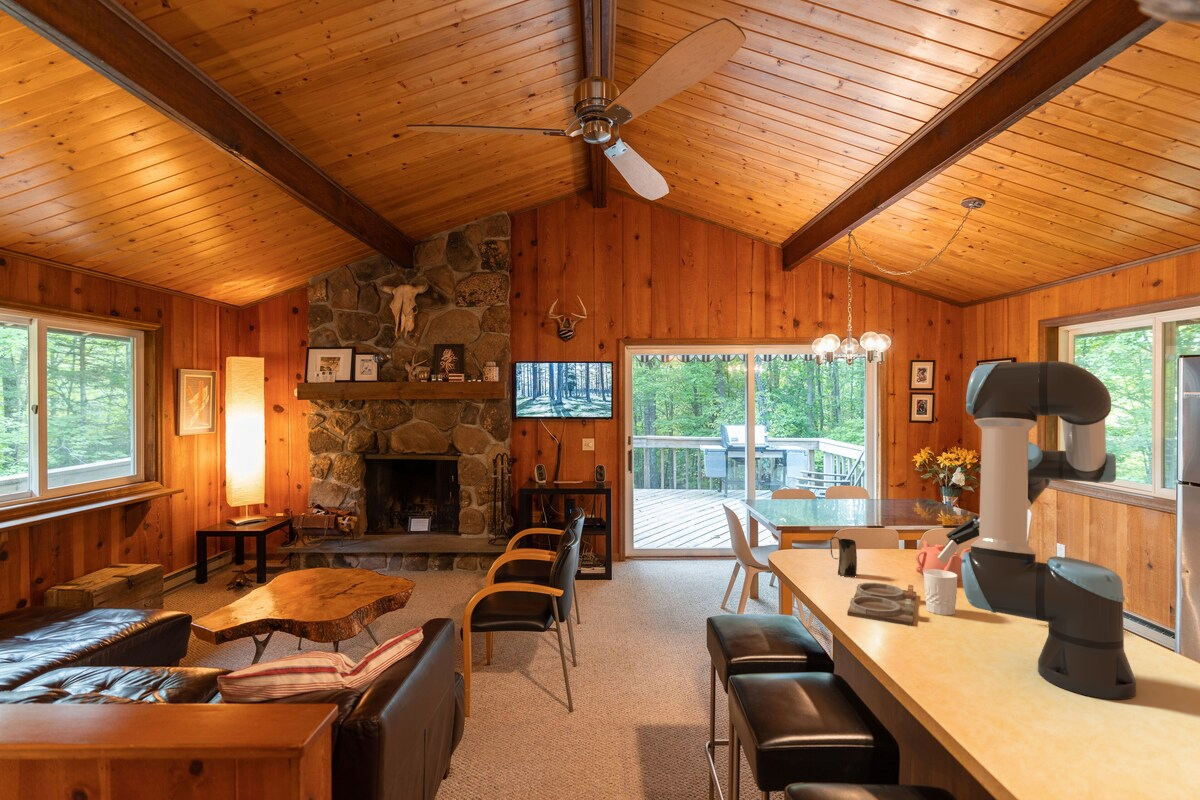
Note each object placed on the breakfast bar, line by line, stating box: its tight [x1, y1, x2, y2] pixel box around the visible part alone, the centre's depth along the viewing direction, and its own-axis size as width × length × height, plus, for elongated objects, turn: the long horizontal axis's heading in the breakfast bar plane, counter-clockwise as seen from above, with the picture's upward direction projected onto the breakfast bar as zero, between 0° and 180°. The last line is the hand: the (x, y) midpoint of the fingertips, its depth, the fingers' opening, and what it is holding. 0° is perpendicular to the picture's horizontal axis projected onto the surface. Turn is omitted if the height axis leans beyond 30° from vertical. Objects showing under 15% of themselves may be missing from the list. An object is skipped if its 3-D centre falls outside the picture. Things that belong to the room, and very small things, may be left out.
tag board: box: [846, 582, 917, 626], centre depth 164 cm, size 27×15×4 cm, turn 150°
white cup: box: [923, 569, 958, 616], centre depth 159 cm, size 8×8×10 cm
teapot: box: [915, 539, 971, 583], centre depth 187 cm, size 14×14×11 cm
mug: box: [829, 536, 858, 578], centre depth 193 cm, size 8×6×12 cm
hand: (960, 567), depth 161 cm, fingers open, 13 cm apart
